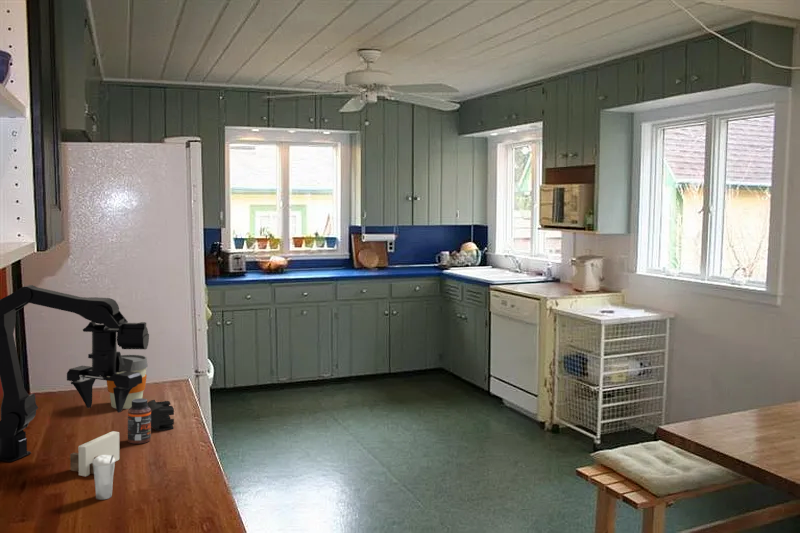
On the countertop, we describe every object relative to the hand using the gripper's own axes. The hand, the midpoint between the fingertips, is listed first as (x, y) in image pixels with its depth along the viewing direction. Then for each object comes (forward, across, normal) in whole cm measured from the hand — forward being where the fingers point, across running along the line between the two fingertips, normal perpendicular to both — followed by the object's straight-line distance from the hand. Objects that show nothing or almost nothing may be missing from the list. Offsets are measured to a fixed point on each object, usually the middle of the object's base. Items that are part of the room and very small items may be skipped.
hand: (104, 410), depth 178 cm
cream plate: (+12, -4, +7) cm, 14 cm away
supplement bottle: (+12, -1, -13) cm, 18 cm away
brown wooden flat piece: (+12, -4, +10) cm, 16 cm away
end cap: (+12, +3, -26) cm, 28 cm away
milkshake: (+12, -18, +21) cm, 30 cm away
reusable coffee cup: (+12, +25, -40) cm, 49 cm away
